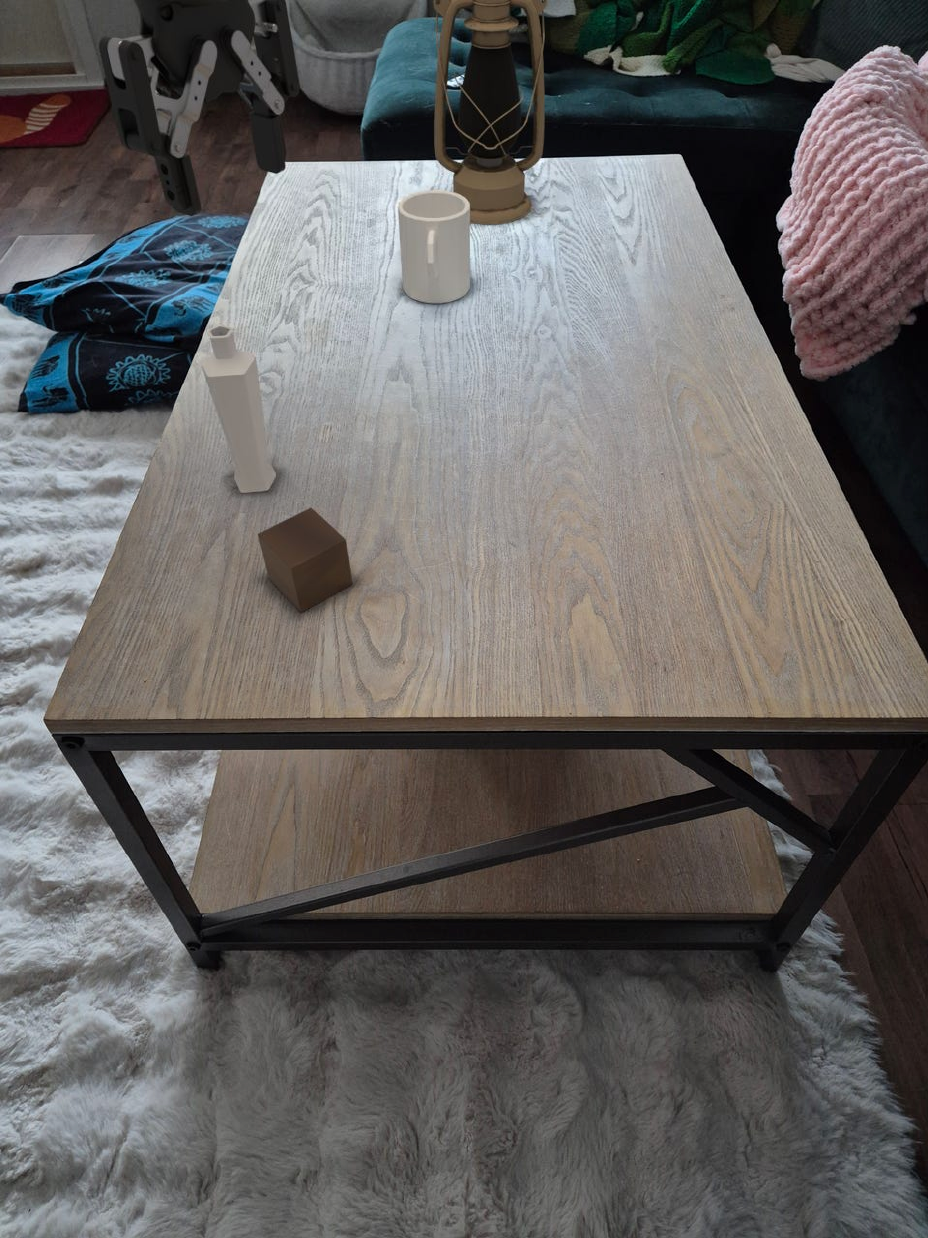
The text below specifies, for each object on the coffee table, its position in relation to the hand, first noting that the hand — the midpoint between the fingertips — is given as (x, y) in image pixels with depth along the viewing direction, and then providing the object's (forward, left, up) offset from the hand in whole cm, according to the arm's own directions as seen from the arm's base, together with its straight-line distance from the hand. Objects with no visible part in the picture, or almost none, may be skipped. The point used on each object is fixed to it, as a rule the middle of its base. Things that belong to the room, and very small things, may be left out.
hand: (231, 190), depth 60 cm
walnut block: (0, -14, -25) cm, 29 cm away
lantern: (+34, +53, -26) cm, 68 cm away
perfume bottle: (-3, 0, -26) cm, 26 cm away
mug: (+21, +30, -26) cm, 44 cm away
